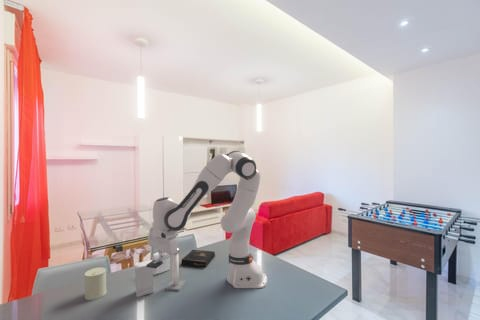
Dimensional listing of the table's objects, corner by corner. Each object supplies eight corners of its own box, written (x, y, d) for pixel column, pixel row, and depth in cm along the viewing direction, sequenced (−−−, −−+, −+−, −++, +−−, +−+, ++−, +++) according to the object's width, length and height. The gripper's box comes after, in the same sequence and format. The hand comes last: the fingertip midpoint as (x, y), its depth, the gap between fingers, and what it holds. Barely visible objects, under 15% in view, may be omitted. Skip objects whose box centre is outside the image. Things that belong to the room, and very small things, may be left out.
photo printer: (167, 267, 140) (167, 247, 140) (170, 269, 137) (170, 249, 137) (151, 273, 133) (151, 252, 133) (154, 276, 130) (154, 254, 130)
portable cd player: (215, 257, 156) (214, 251, 156) (205, 268, 139) (205, 262, 139) (193, 254, 159) (193, 249, 159) (181, 265, 143) (181, 259, 143)
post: (185, 282, 122) (185, 250, 122) (179, 291, 114) (179, 257, 114) (172, 281, 124) (172, 249, 124) (164, 289, 116) (164, 255, 116)
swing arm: (173, 250, 122) (173, 246, 122) (181, 251, 120) (181, 247, 120) (146, 268, 102) (146, 263, 102) (155, 269, 100) (155, 265, 100)
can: (83, 302, 106) (83, 277, 106) (86, 292, 114) (85, 268, 114) (105, 296, 110) (105, 272, 110) (107, 287, 118) (106, 264, 118)
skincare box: (152, 287, 118) (152, 259, 118) (153, 293, 113) (153, 263, 113) (135, 291, 114) (135, 262, 114) (135, 298, 109) (135, 267, 109)
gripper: (144, 228, 114) (144, 255, 114) (169, 236, 102) (168, 266, 102) (155, 225, 120) (155, 251, 119) (180, 233, 107) (180, 261, 107)
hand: (161, 258), depth 111 cm, fingers closed, pressing on swing arm
